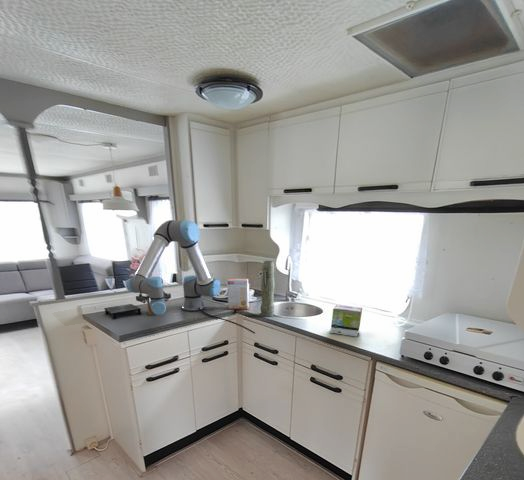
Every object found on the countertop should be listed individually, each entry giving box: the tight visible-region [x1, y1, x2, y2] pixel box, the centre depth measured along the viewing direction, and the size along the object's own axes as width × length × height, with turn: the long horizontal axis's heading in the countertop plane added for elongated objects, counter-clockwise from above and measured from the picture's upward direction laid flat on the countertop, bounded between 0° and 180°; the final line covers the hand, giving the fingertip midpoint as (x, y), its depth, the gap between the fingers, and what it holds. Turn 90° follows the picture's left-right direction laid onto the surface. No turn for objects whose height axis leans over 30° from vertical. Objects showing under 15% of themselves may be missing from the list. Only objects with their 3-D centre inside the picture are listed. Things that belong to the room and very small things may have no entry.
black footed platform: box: [103, 303, 142, 320], centre depth 214 cm, size 16×18×4 cm
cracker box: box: [227, 278, 250, 311], centre depth 228 cm, size 14×6×21 cm, turn 84°
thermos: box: [260, 260, 276, 318], centre depth 211 cm, size 9×12×35 cm
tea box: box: [330, 304, 363, 337], centre depth 183 cm, size 15×10×15 cm, turn 69°
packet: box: [145, 294, 158, 316], centre depth 215 cm, size 8×6×13 cm
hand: (152, 294), depth 203 cm, fingers open, 13 cm apart
